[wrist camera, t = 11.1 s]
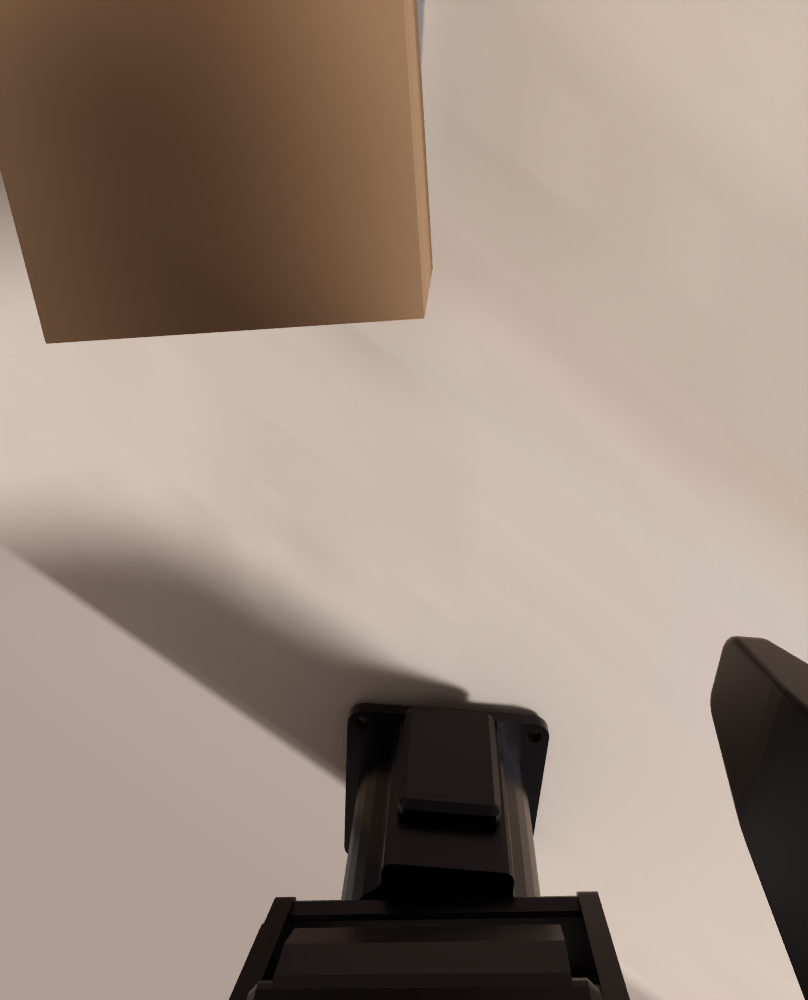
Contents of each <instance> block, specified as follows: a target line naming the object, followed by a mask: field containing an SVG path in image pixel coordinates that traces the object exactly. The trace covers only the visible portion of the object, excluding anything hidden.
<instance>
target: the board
mask: <svg viewBox="0 0 808 1000" xmlns="http://www.w3.org/2000/svg"><path fill="white" fill-rule="evenodd" d="M0 169H1V173H2V177H3V181H4V185H5V188H6V192H7V196H8V200H9V204H10V208H11V211H12V215H13V219H14V223H15V227H16V231H17V234H18V238H19V242H20V246H21V250H22V254H23V258H24V261H25V265H26V269H27V273H28V277H29V281H30V284H31V288H32V292H33V296H34V300H35V304H36V307H37V311H38V315H39V319H40V323H41V327H42V330H43V334H44V338H45V342H46V344H47V343H62V342H77V341H92V340H107V339H122V338H137V337H152V336H167V335H182V334H197V333H212V332H227V331H242V330H257V329H271V328H286V327H301V326H316V325H331V324H346V323H361V322H376V321H391V320H406V319H421V318H424V316H425V310H426V304H427V298H428V292H429V286H430V280H431V274H432V268H433V265H432V248H431V231H430V214H429V197H428V180H427V163H426V146H425V129H424V112H423V94H422V77H421V60H420V43H419V26H418V9H417V0H0Z"/></svg>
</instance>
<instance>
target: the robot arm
mask: <svg viewBox="0 0 808 1000" xmlns="http://www.w3.org/2000/svg"><path fill="white" fill-rule="evenodd" d="M710 706H711V713H712V718H713V721H714V725H715V729H716V733H717V737H718V741H719V745H720V749H721V753H722V757H723V761H724V765H725V769H726V773H727V777H728V781H729V785H730V789H731V793H732V797H733V801H734V805H735V809H736V813H737V816H738V820H739V823H740V827H741V830H742V833H743V836H744V838H745V841H746V844H747V847H748V850H749V852H750V855H751V858H752V860H753V863H754V866H755V868H756V871H757V874H758V876H759V879H760V882H761V884H762V887H763V890H764V892H765V895H766V897H767V900H768V903H769V905H770V908H771V911H772V913H773V916H774V919H775V921H776V924H777V927H778V929H779V932H780V935H781V937H782V940H783V943H784V945H785V948H786V950H787V953H788V956H789V958H790V961H791V964H792V966H793V969H794V972H795V974H796V977H797V980H798V982H799V985H800V988H801V990H802V993H803V996H804V998H805V1000H808V664H807V663H805V662H804V661H802V660H800V659H799V658H797V657H795V656H794V655H792V654H790V653H789V652H787V651H785V650H783V649H782V648H780V647H778V646H777V645H775V644H773V643H772V642H770V641H768V640H766V639H763V638H754V637H740V636H733V637H731V638H729V639H728V640H727V641H726V643H725V644H724V646H723V649H722V653H721V657H720V661H719V665H718V669H717V672H716V676H715V680H714V684H713V688H712V692H711V699H710ZM360 717H365V718H367V719H369V721H366V722H363V721H360V720H359V719H358V718H360ZM532 730H535V731H538V733H536V734H532V735H531V734H528V733H527V732H529V731H532ZM548 741H549V733H548V727H547V724H546V722H545V721H544V720H543V719H541V718H540V717H536V716H528V715H515V714H501V713H488V712H475V711H462V710H449V709H436V708H423V707H409V706H396V705H383V704H370V703H360V704H357V705H355V706H353V707H352V708H351V710H350V713H349V717H348V726H347V765H346V803H345V804H346V805H345V842H344V847H345V851H346V852H347V853H348V858H347V864H346V871H345V877H344V885H343V891H342V898H341V900H318V901H317V900H315V901H296V898H295V897H276V898H275V899H274V902H273V904H272V906H271V909H270V911H269V913H268V915H267V918H266V920H265V922H264V923H263V924H262V925H261V928H260V929H259V932H258V934H257V936H256V939H255V941H254V943H253V946H252V948H251V950H250V952H249V955H248V957H247V959H246V962H245V964H244V966H243V969H242V971H241V973H240V976H239V978H238V980H237V982H236V985H235V987H234V989H233V992H232V994H231V996H230V998H229V1000H630V999H629V995H628V992H627V989H626V985H625V982H624V979H623V975H622V972H621V969H620V965H619V962H618V959H617V955H616V952H615V948H614V945H613V942H612V938H611V935H610V932H609V928H608V925H607V922H606V918H605V915H604V912H603V908H602V905H601V902H600V898H599V895H598V892H597V891H596V892H577V896H540V889H539V881H538V873H537V865H536V857H535V849H534V841H533V835H534V829H535V822H536V816H537V810H538V804H539V797H540V791H541V785H542V779H543V772H544V766H545V760H546V754H547V747H548Z"/></svg>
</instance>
